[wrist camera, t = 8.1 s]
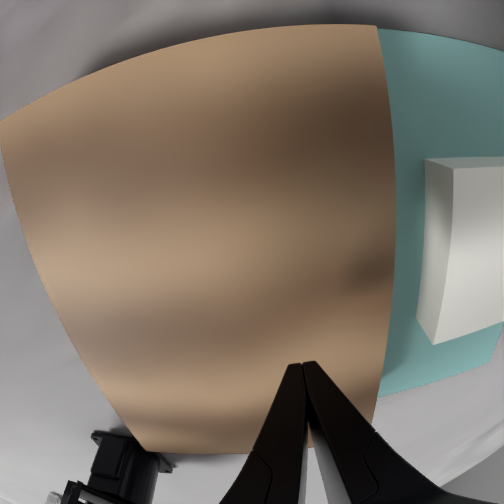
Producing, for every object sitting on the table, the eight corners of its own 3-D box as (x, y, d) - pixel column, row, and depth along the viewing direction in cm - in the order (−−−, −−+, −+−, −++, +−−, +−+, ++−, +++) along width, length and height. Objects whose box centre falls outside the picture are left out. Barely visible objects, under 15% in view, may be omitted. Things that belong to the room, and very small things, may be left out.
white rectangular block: (433, 345, 13) (415, 317, 16) (510, 318, 13) (489, 297, 15) (453, 168, 10) (424, 158, 12) (536, 166, 9) (507, 156, 12)
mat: (487, 359, 18) (488, 361, 18) (353, 399, 19) (354, 402, 19) (521, 59, 9) (524, 58, 9) (339, 28, 10) (340, 27, 10)
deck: (354, 390, 19) (368, 437, 15) (158, 407, 20) (146, 451, 16) (343, 49, 11) (376, 25, 7) (50, 116, 12) (-4, 123, 8)
